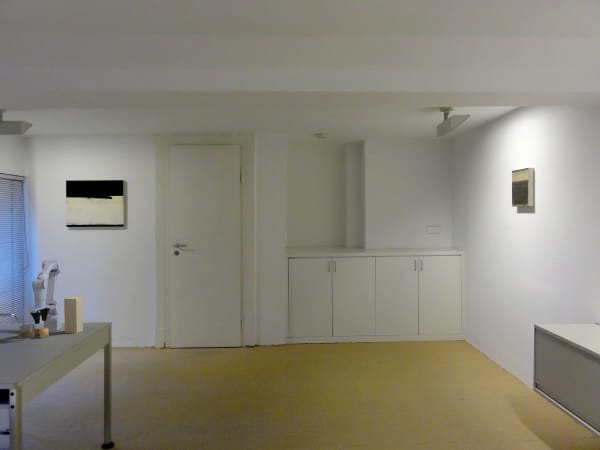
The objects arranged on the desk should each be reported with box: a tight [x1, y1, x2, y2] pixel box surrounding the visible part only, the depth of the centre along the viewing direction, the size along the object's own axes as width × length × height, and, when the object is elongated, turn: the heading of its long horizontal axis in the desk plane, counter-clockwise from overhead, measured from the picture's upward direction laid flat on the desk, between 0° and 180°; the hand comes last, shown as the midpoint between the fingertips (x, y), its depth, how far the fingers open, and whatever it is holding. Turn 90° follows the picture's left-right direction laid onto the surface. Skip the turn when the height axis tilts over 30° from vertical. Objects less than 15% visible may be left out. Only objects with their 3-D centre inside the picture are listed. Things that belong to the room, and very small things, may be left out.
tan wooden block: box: [63, 296, 84, 334], centre depth 266 cm, size 8×7×21 cm
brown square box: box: [17, 328, 40, 339], centre depth 258 cm, size 8×8×4 cm
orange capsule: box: [39, 327, 50, 339], centre depth 255 cm, size 4×4×5 cm
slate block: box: [19, 323, 37, 333], centre depth 258 cm, size 6×6×4 cm
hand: (40, 322), depth 256 cm, fingers open, 7 cm apart
